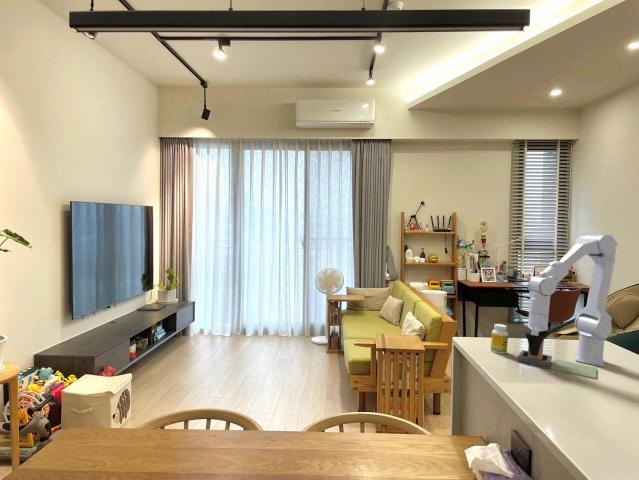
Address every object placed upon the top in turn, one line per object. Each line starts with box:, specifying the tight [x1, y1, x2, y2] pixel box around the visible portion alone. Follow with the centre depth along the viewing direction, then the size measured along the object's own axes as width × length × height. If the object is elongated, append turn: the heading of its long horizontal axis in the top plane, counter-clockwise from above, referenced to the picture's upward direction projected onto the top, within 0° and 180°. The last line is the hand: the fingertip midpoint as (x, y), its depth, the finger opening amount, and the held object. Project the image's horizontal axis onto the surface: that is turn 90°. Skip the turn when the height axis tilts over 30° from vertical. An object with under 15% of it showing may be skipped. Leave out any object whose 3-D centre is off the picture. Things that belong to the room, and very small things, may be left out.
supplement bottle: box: [490, 323, 509, 355], centre depth 143 cm, size 5×5×10 cm
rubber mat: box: [550, 358, 597, 380], centre depth 129 cm, size 12×12×1 cm
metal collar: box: [517, 349, 553, 370], centre depth 134 cm, size 9×9×2 cm
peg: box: [527, 339, 545, 360], centre depth 134 cm, size 4×4×8 cm
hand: (535, 352), depth 134 cm, fingers open, 7 cm apart
